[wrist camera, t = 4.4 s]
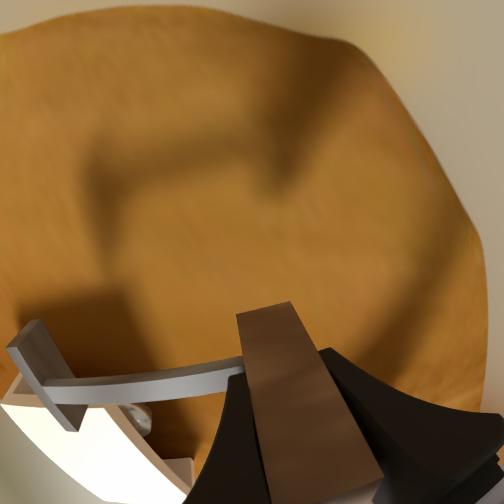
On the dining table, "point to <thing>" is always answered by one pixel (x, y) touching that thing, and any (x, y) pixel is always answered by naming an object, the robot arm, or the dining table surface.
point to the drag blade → (262, 398)
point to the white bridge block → (101, 451)
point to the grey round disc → (138, 416)
